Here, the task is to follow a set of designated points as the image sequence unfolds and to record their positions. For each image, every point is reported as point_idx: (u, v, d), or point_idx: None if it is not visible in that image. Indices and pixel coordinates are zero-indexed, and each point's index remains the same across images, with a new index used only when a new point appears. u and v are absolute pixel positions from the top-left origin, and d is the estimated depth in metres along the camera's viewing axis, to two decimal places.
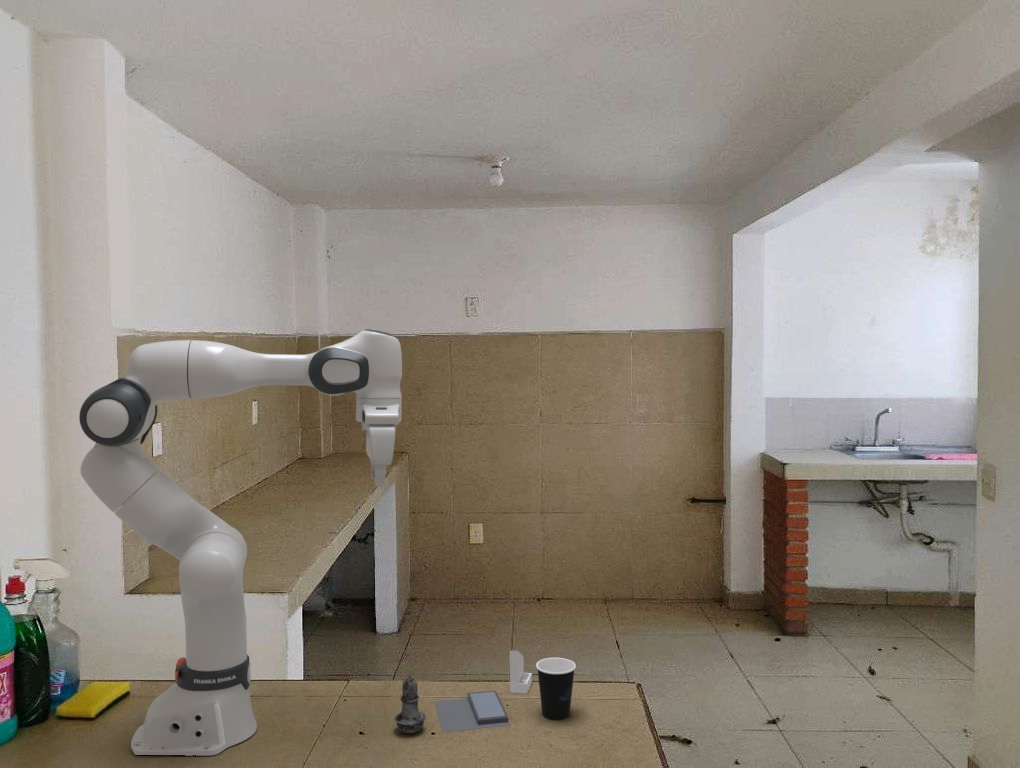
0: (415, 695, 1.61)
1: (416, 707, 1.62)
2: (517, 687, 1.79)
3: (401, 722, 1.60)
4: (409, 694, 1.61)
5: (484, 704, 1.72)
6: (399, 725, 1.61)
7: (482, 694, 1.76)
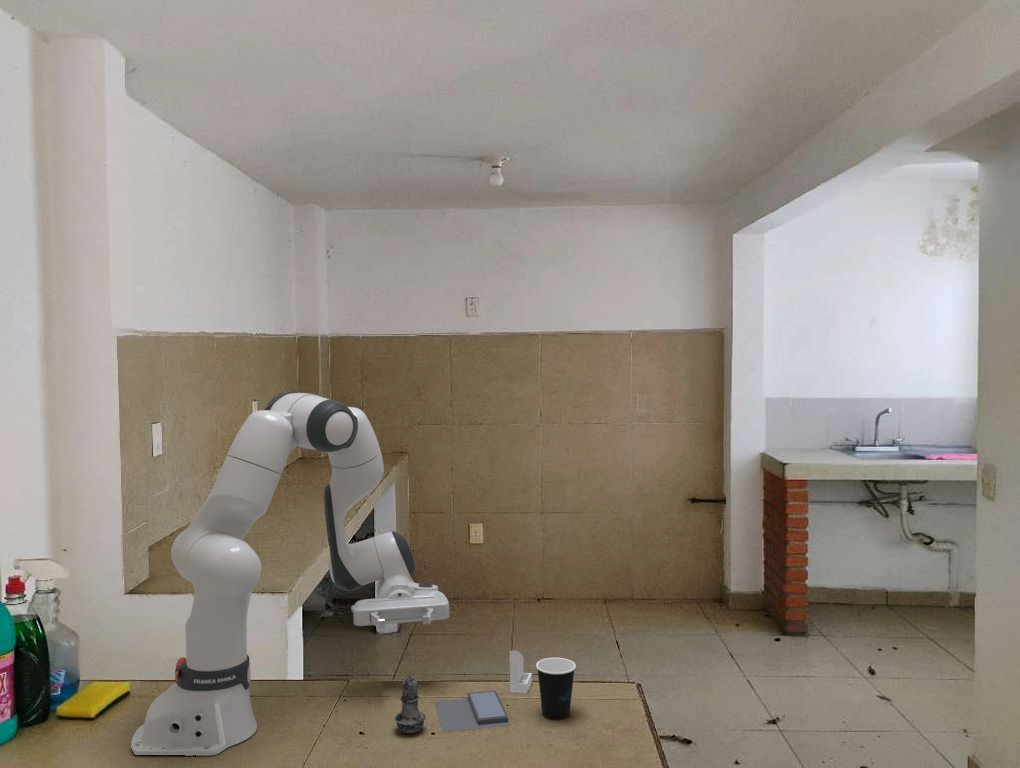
0: (415, 695, 1.61)
1: (416, 707, 1.62)
2: (517, 687, 1.79)
3: (401, 722, 1.60)
4: (409, 694, 1.61)
5: (484, 704, 1.72)
6: (399, 725, 1.61)
7: (482, 694, 1.76)
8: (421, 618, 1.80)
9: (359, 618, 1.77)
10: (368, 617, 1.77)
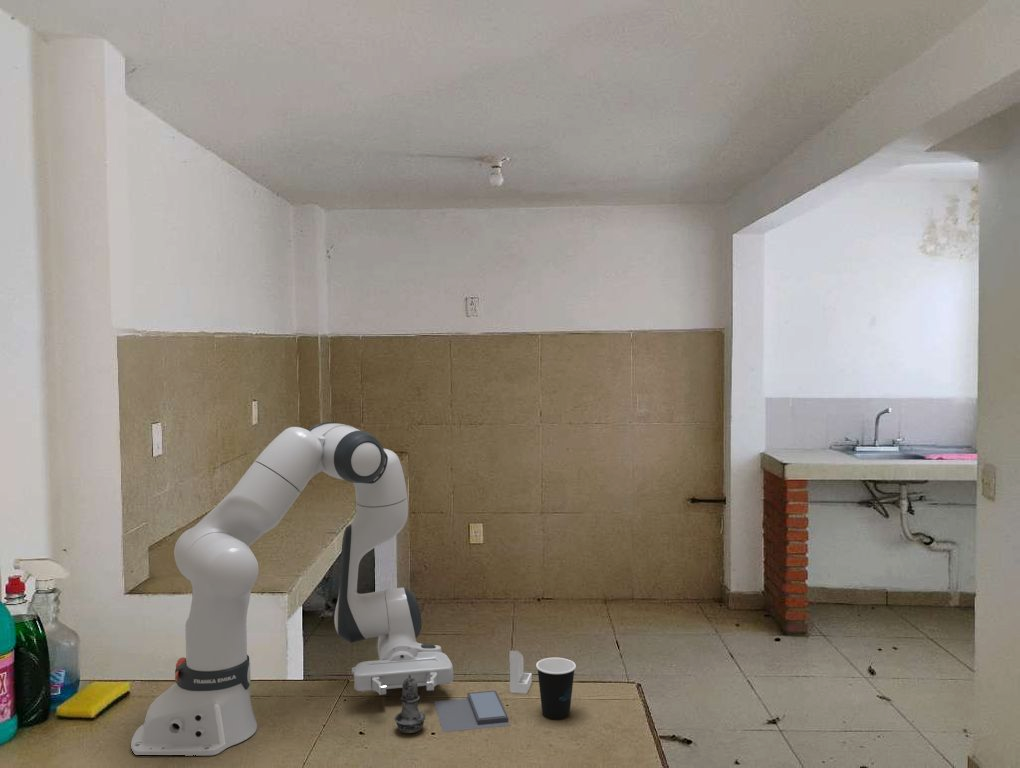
0: (415, 695, 1.61)
1: (416, 707, 1.62)
2: (517, 687, 1.79)
3: (401, 722, 1.60)
4: (409, 694, 1.61)
5: (484, 704, 1.72)
6: (399, 725, 1.61)
7: (482, 694, 1.76)
8: (424, 682, 1.74)
9: (359, 683, 1.71)
10: (369, 682, 1.72)
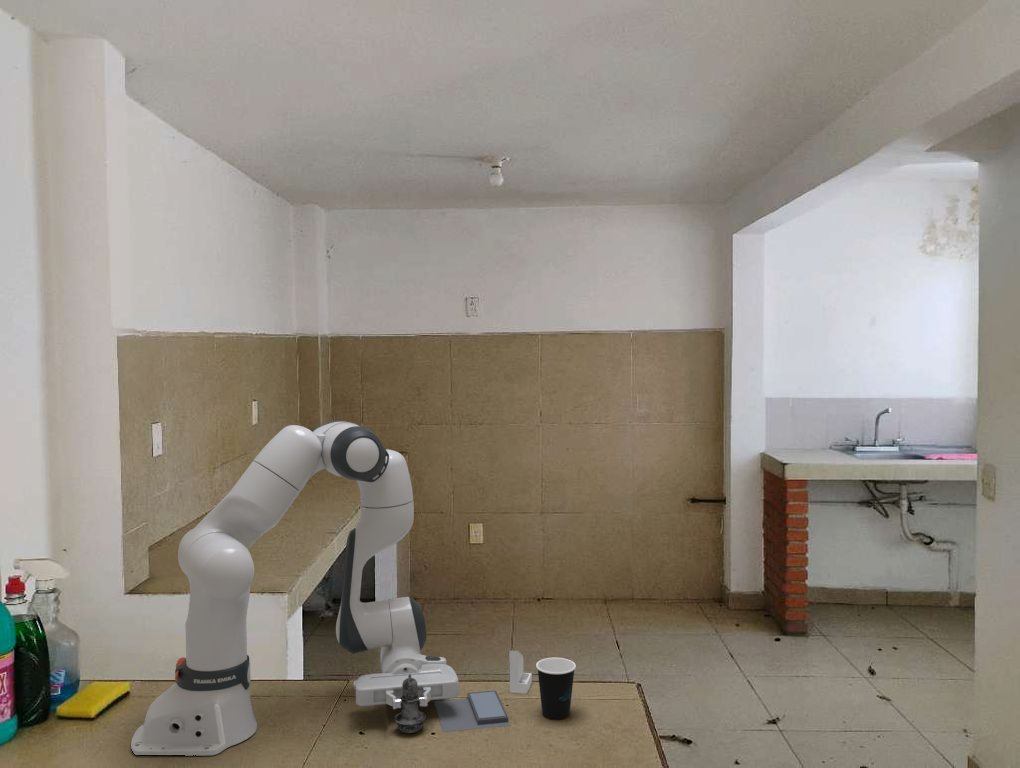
0: (415, 695, 1.61)
1: (416, 707, 1.62)
2: (517, 687, 1.79)
3: (401, 722, 1.60)
4: (409, 694, 1.61)
5: (484, 704, 1.72)
6: (399, 725, 1.61)
7: (482, 694, 1.76)
8: None
9: (361, 698, 1.64)
10: (371, 696, 1.64)
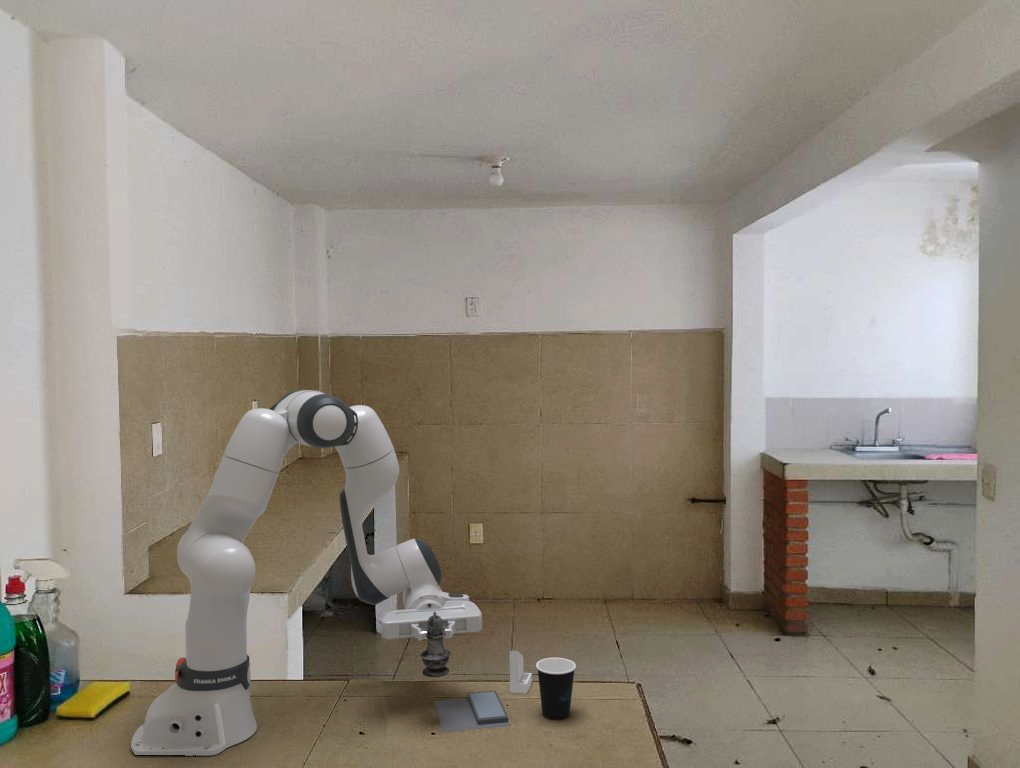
0: (440, 632, 1.65)
1: (441, 643, 1.65)
2: (517, 687, 1.79)
3: (427, 658, 1.63)
4: (435, 631, 1.64)
5: (484, 704, 1.72)
6: (425, 661, 1.64)
7: (482, 694, 1.76)
8: None
9: (387, 631, 1.67)
10: (397, 630, 1.68)
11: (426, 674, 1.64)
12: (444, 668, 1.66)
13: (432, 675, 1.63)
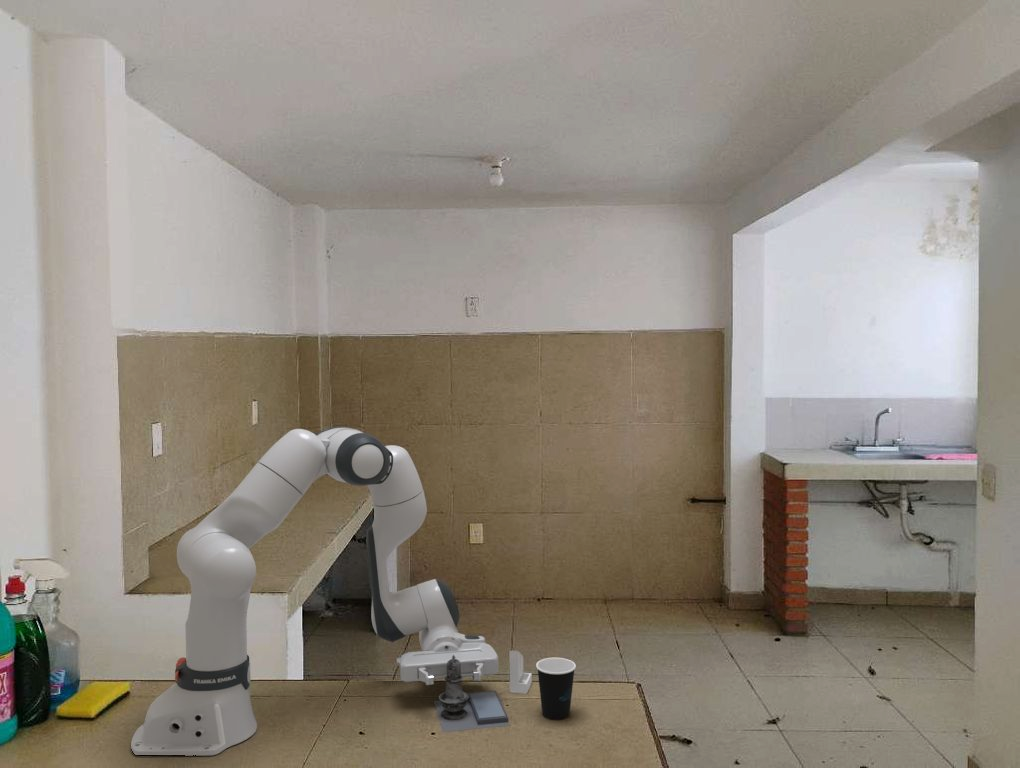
0: (459, 675, 1.68)
1: (460, 687, 1.68)
2: (517, 687, 1.79)
3: (446, 701, 1.67)
4: (453, 674, 1.67)
5: (484, 704, 1.72)
6: (443, 704, 1.67)
7: (482, 694, 1.76)
8: (470, 673, 1.74)
9: (406, 674, 1.71)
10: (416, 672, 1.71)
11: (444, 717, 1.68)
12: (462, 711, 1.70)
13: (450, 718, 1.67)
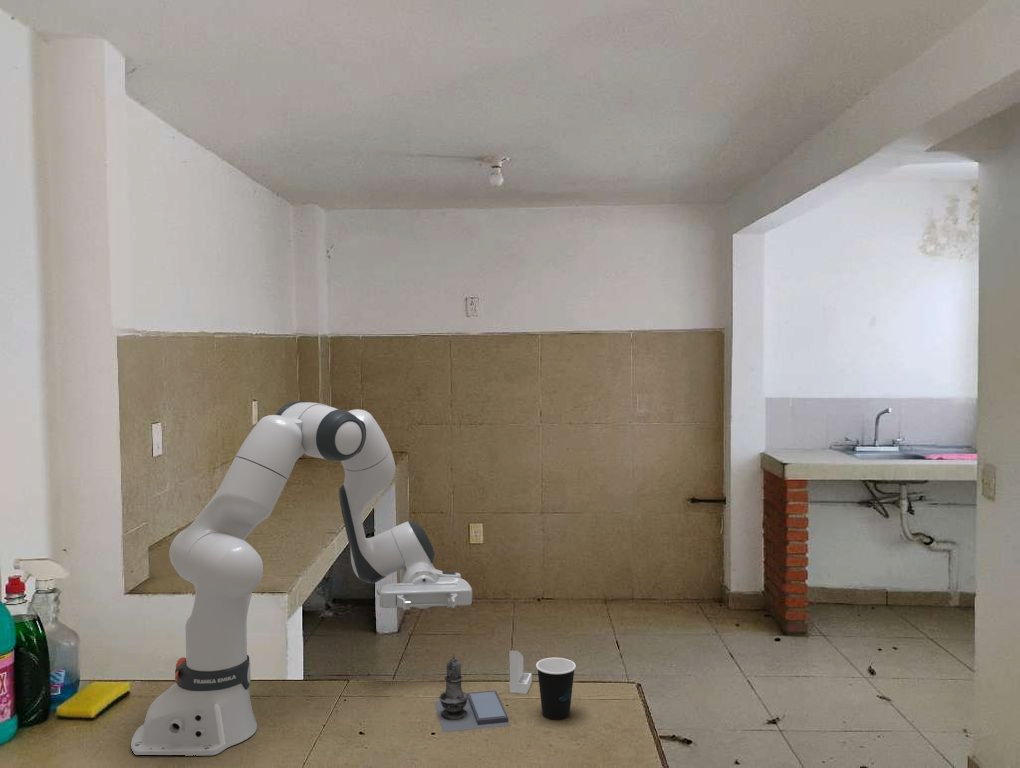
0: (459, 675, 1.68)
1: (460, 687, 1.68)
2: (517, 687, 1.79)
3: (446, 701, 1.67)
4: (453, 674, 1.67)
5: (484, 704, 1.72)
6: (443, 704, 1.67)
7: (482, 694, 1.76)
8: (445, 603, 1.85)
9: (385, 600, 1.82)
10: (394, 599, 1.83)
11: (444, 717, 1.68)
12: (462, 711, 1.70)
13: (450, 718, 1.67)
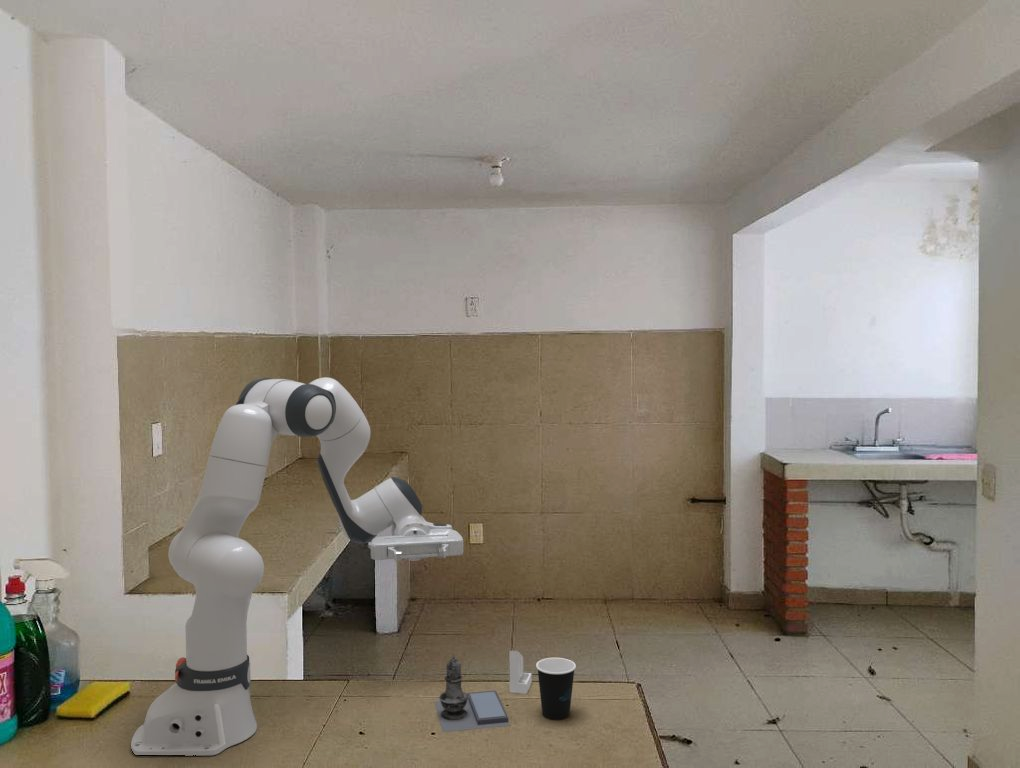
0: (459, 675, 1.68)
1: (460, 687, 1.68)
2: (517, 687, 1.79)
3: (446, 701, 1.67)
4: (453, 674, 1.67)
5: (484, 704, 1.72)
6: (443, 704, 1.67)
7: (482, 694, 1.76)
8: (436, 553, 1.85)
9: (376, 552, 1.82)
10: (385, 551, 1.82)
11: (444, 717, 1.68)
12: (462, 711, 1.70)
13: (450, 718, 1.67)
